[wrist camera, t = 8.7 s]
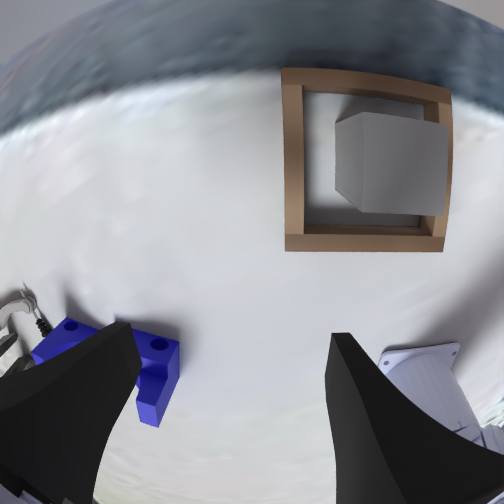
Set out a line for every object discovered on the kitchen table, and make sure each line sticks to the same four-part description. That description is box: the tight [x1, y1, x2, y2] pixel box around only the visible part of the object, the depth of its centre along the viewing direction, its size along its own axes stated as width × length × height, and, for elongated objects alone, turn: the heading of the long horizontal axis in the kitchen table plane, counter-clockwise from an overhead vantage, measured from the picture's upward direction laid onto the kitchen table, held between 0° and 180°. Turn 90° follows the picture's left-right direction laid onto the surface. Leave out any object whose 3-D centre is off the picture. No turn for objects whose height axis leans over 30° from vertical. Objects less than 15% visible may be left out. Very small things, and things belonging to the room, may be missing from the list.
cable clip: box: [31, 317, 179, 427], centre depth 20 cm, size 12×4×6 cm, turn 81°
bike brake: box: [0, 289, 51, 377], centre depth 23 cm, size 14×7×20 cm
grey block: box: [335, 112, 448, 216], centre depth 13 cm, size 4×4×6 cm
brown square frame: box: [281, 68, 453, 252], centre depth 14 cm, size 10×10×2 cm
